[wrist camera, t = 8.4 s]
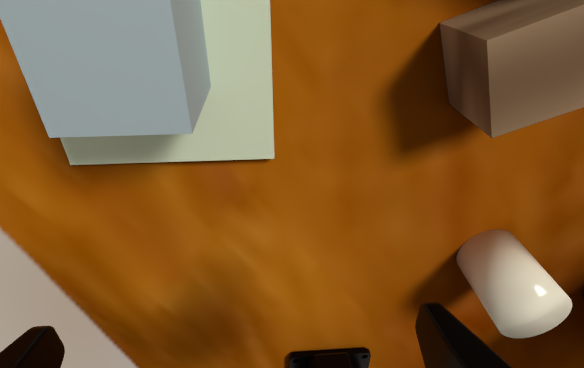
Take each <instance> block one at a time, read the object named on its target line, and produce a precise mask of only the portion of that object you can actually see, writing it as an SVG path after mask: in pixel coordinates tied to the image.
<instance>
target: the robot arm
mask: <svg viewBox="0 0 584 368" xmlns="http://www.w3.org/2000/svg"><path fill="white" fill-rule="evenodd" d="M415 328H416V334H417V338H418V341H419V345H420V349H421V352H422V356H423V360H424V363H425V367H426V368H512V367H511V366H510V365H509V364H507V363H506V362H505V361H504V360H503V359H502V358H501V357H500V356H499V355H497V354H496V353H495V352H494V351H493V350H492V349H491V348H490V347H488V346H487V345H486V344H485V343H484V342H483V341H482V340H481V339H479V338H478V337H477V336H476V335H475V334H474V333H473V332H472V331H470V330H469V329H468V328H467V327H466V326H465V325H464V324H463V323H461V322H460V321H459V320H458V319H457V318H456V317H455V316H454V315H452V314H451V313H450V312H449V311H448V310H447V309H446V308H445V307H443V306H442V305H441V304H440V303H438V302H425V303H422V304H421V305H420V308H419V312H418V316H417V320H416V324H415ZM64 352H65V351H64V345H63V343H62V341H61V340H60V338H59V336H58V334H57V333H56V331H55V329H54V328H53V327H51V326H37V327H33V328H31V329H29V330H28V331H27V332H25V333H24V334H23V335H21V336H20V337H19V338H18V339H16V340H15V341H14V342H13V343H12V344H10V345H9V346H8V347H7V348H5V349H4V350H3V351H2V352H0V368H60V367H61V364H62V361H63V357H64ZM370 357H371V355H370V351H369V349H367V348H361V349H345V350H329V351H314V352H298V353H292V354H291V355H290V356H289V368H368V366H369V362H370Z"/></svg>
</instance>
